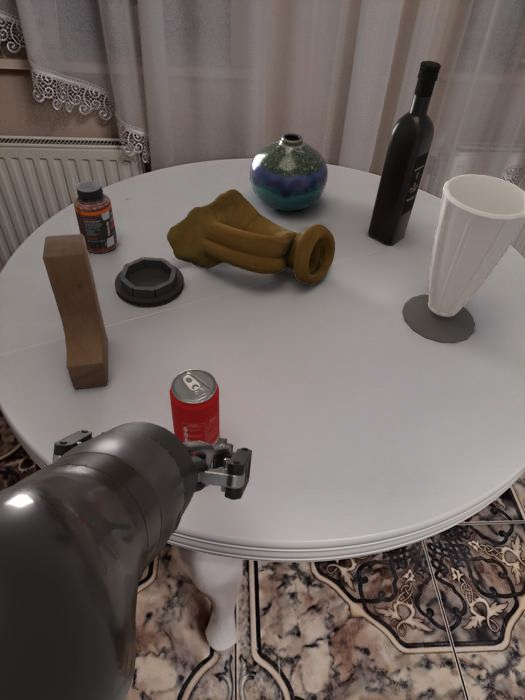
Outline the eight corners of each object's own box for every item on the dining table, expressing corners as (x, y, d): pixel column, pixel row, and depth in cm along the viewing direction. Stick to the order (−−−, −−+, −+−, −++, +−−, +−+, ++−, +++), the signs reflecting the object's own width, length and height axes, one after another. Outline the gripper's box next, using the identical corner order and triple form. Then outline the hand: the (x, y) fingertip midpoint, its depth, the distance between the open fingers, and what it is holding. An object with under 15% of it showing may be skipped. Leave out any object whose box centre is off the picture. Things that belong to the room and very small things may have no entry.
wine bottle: (406, 236, 98) (457, 64, 76) (390, 247, 95) (438, 72, 73) (381, 224, 100) (424, 55, 79) (365, 235, 97) (404, 62, 76)
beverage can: (192, 476, 59) (187, 413, 50) (168, 446, 62) (159, 381, 53) (228, 453, 61) (229, 389, 53) (203, 425, 64) (200, 360, 56)
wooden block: (108, 385, 68) (82, 277, 55) (73, 390, 67) (38, 281, 54) (108, 339, 74) (83, 232, 61) (75, 343, 73) (44, 235, 60)
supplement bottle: (122, 249, 90) (112, 190, 82) (89, 258, 87) (75, 198, 79) (111, 232, 93) (101, 174, 85) (79, 240, 91) (65, 181, 83)
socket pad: (141, 316, 78) (139, 304, 76) (102, 282, 83) (99, 270, 81) (197, 288, 83) (197, 275, 82) (158, 257, 89) (156, 245, 87)
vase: (233, 203, 103) (234, 137, 94) (277, 176, 112) (282, 114, 103) (295, 230, 97) (303, 163, 88) (337, 200, 106) (348, 136, 97)
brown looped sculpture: (241, 182, 94) (345, 205, 83) (235, 251, 99) (332, 281, 88) (167, 185, 80) (280, 214, 69) (165, 265, 86) (269, 303, 74)
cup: (484, 313, 83) (543, 191, 67) (461, 354, 76) (521, 227, 60) (418, 286, 87) (459, 165, 71) (390, 322, 80) (430, 196, 64)
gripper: (247, 445, 29) (257, 411, 46) (7, 419, 30) (102, 394, 46) (233, 574, 30) (249, 494, 46) (-6, 545, 30) (93, 476, 46)
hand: (175, 444), depth 46 cm, fingers open, 8 cm apart
